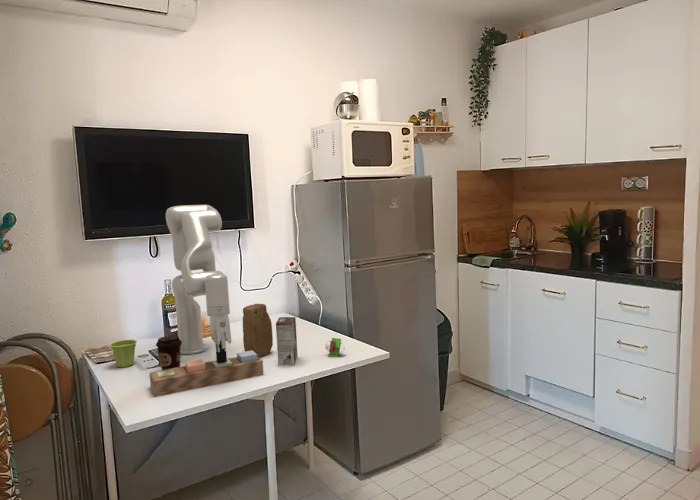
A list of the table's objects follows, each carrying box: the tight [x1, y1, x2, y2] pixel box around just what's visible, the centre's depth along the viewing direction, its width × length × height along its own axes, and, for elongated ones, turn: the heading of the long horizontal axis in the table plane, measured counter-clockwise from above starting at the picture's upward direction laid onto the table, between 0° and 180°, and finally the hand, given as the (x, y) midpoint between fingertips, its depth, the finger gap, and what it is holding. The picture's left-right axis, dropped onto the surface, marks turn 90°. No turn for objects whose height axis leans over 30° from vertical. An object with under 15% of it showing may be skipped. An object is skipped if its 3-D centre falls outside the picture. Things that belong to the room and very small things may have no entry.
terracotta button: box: [184, 359, 206, 373], centre depth 177 cm, size 6×6×4 cm
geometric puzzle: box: [324, 337, 346, 357], centre depth 202 cm, size 7×7×8 cm
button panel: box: [149, 356, 264, 397], centre depth 180 cm, size 36×10×5 cm, turn 118°
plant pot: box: [109, 339, 137, 368], centre depth 200 cm, size 9×9×9 cm
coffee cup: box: [155, 335, 182, 370], centre depth 188 cm, size 9×8×13 cm
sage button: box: [211, 359, 232, 368], centre depth 182 cm, size 6×6×4 cm
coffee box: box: [275, 316, 299, 367], centre depth 196 cm, size 9×6×16 cm
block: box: [242, 303, 274, 358], centre depth 206 cm, size 11×8×20 cm
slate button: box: [236, 350, 257, 363], centre depth 186 cm, size 6×6×4 cm
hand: (221, 362), depth 181 cm, fingers closed
